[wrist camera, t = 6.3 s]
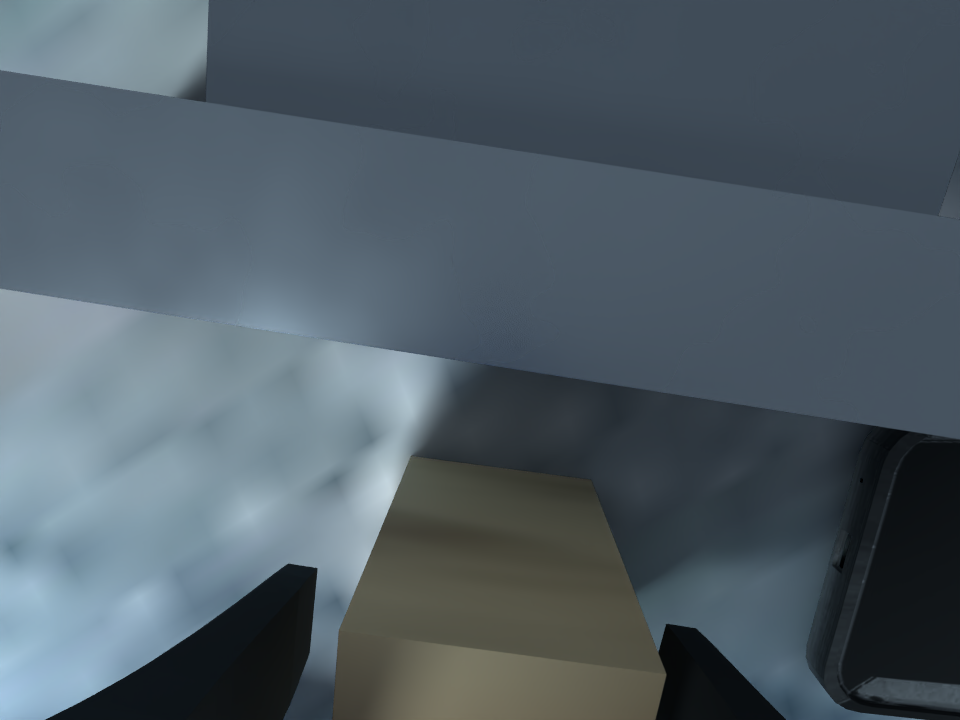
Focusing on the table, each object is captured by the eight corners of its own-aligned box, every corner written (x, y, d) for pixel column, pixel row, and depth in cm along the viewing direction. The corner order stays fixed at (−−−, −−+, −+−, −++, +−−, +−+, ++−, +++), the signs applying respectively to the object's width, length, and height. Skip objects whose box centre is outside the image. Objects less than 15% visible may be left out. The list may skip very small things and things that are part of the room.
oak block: (562, 633, 14) (607, 916, 8) (395, 611, 14) (320, 876, 8) (590, 479, 13) (666, 675, 7) (411, 455, 13) (338, 630, 7)
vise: (912, 386, 12) (1147, 468, 8) (145, 266, 12) (-58, 279, 8) (1027, 56, 10) (1405, -79, 6) (148, -80, 11) (-102, -309, 6)
